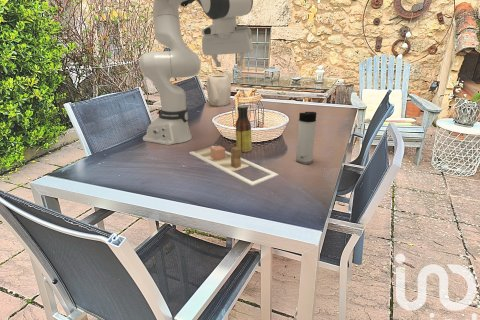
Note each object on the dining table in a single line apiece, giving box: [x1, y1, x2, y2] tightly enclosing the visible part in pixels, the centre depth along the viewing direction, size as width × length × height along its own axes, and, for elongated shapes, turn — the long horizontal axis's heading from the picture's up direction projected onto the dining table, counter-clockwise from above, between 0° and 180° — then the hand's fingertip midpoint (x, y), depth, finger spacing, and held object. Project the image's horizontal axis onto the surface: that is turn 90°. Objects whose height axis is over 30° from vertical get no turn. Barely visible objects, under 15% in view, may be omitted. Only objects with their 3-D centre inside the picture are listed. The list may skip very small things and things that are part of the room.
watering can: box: [206, 74, 232, 107], centre depth 212 cm, size 16×27×19 cm, turn 156°
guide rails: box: [188, 145, 280, 187], centre depth 121 cm, size 38×12×2 cm, turn 40°
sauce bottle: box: [235, 104, 253, 154], centre depth 131 cm, size 6×6×20 cm
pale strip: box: [193, 146, 250, 172], centre depth 124 cm, size 26×8×8 cm, turn 40°
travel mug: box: [295, 111, 317, 165], centre depth 123 cm, size 6×7×20 cm
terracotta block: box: [209, 145, 226, 160], centre depth 126 cm, size 4×4×4 cm
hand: (229, 66), depth 126 cm, fingers open, 8 cm apart
